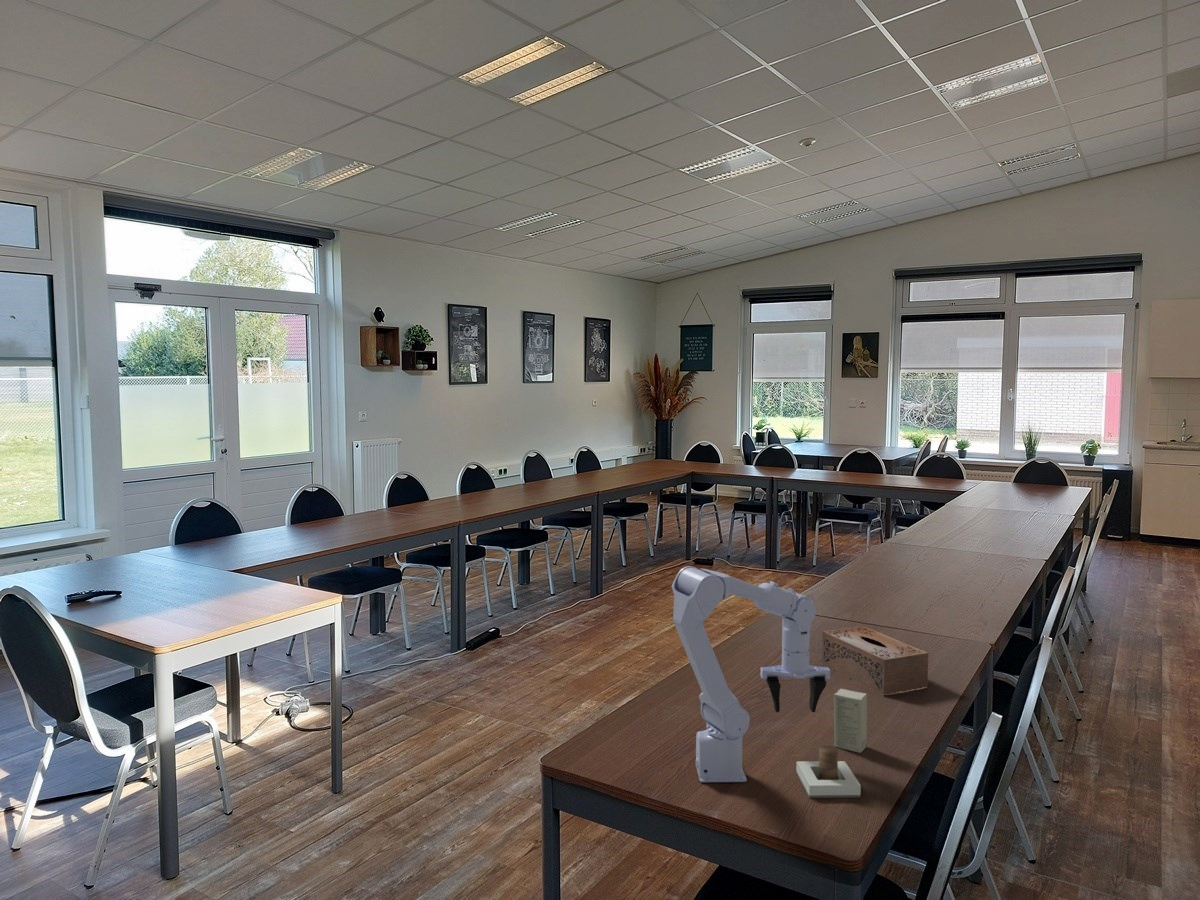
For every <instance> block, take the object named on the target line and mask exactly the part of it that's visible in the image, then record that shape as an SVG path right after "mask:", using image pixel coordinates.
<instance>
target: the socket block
mask: <svg viewBox="0 0 1200 900" xmlns="http://www.w3.org/2000/svg"><path fill="white" fill-rule="evenodd" d="M795 766H796V770H795V771H796V772H795V773H796V776H797V777H798V779H799V780H800V783H801V785H802V787H803V789H804V791H805V793H806V795H807V796H808V799H839V798H840V799H841V798H842V799H845V798H847V799H848V798H849V799H850V798H854V799H857V798H859V799H860V798H861V789H862V787H861V786H862V785H861V784H860V782H859V780H858V779H857V778H856V776H855V774H854V773H853V771H852V770H851V768H850V767H849V766H848V764H847V763H846V761H845V760H843V761H841V760H838V771H837V780H819V760H818V761H814V760H812V761H810V760H809V761H807V760H806V761H803V760H802V761H799V760H798V761H796V765H795Z"/></svg>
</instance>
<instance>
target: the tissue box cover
mask: <svg viewBox="0 0 1200 900" xmlns="http://www.w3.org/2000/svg"><path fill="white" fill-rule="evenodd" d="M821 634H822V635H821V636H822V637H821V639H822V640H821V648H822V649H821V665H822V664H823V665H822V666H824V665H825V666H824V667H826V666H827V667H829V669H830V668H831V669H833V670H835V671H836V672H835V671H834V672H835V673H837V672H839V673H841V674H843V675H845V676H847V677H849V678H851V679H852V680H855V681H857V682H859V683H861V684H863V685H865V686H867V687H869V688H871V689H873V690H875V691H877V692H879V693H881V694H883V695H885V694H891V693H896V692H899V691H906V690H911V689H917V688H922V687H927V688H928V681H929V680H928V678H929V677H928V676H929V672H928V671H929V652H927V651H925V650H923V649H920V648H917V647H915V646H913V645H911V644H908V643H905V642H904V641H901V640H899V639H896V638H893V637H891V636H889V635H886V634H884V633H882V632H880V631H877V630H874V629H872V628H870V627H867V626H865V625H860V626H859V625H858V626H854V627H852V626H851V627H846V628H845V627H844V628H838V629H829V630H823V631H822V633H821ZM831 669H830V670H831ZM833 670H832V671H833ZM839 673H838V674H839ZM841 674H840V675H841ZM843 675H842V676H843ZM845 676H844V677H845ZM847 677H846V678H847ZM849 678H848V679H849ZM851 679H850V680H851ZM852 680H851V681H852Z"/></svg>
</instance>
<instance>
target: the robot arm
mask: <svg viewBox="0 0 1200 900" xmlns="http://www.w3.org/2000/svg"><path fill="white" fill-rule="evenodd" d="M671 589H672V592H673V597H674V598H673V613H672V614H673V615H672V617H673V618H672V619H673V625H674V627H675V629H676V631H677V633H678V637H679V639H680V641H681V644H682V646H683V649H684V652H685V653H686V656H687V658H688V661H689V664H690V666H691V667H692V671H693V673H694V675H695V678H696V681H697V683H698V686H699V687H700V690H701V693H700V694H699V695H698V698H699V701H700V714H701V717H702V719H703V720H704V721H705V724H706V725H705V727H706V729H705V730H700V731H697V732H696V737H695V757H696V758H695V768H696V771H697V775H698V779H699V782H700V783H746V782H747V781H748V780H747V777H746V774H745V772H744V769H743V738H744V735H745V733H746V732H747V730H748V729H749V727H750V722H751V720H750V719H751V718H750V714H749V712H748V711H747V710H746V709H745V708H743V706H741V704H740V701H739V700H738V698H737V696H735V694H734V693H733V692H732V690H730V688H729V687H728V684H727V681H726V678H725V676H724V673H723V671H722V669H721V666H720V664H719V660H718V659H717V655H716V653H715V651H714V649H713V646H712V644H711V641H710V639H709V636H708V633H707V631H706V628H705V625H704V622H705V621H706V620H707V619H708V617H710V615H711V614H712V613H713V611H714V610H715V609H716V607H717V606H718V605H719V603H721V601H722V600H727V599H728V598H729V596H730V595H733V596H737V597H740V598H744V599H745V600H746V599H747V600H749V601H753V603H754V605H755V607H756V608H757V609H758V610H761V611H764V612H767V613H770V614H772V615H776V616H780V617H782V621H781V622H782V625H781V629H782V630H781V632H782V634H781V635H782V636H781V637H782V638H781V665H772V666H760V678H761V679H762V680H766V683H767V685H768V687H769V688H768V689H769V691H770V694H771V698H772V703H773V710H774V711H775V713H780V710H781V706H780V705H781V704H780V703H781V702H780V693H781V686H782V685H781V683H780V680H779V679H790V678H791V679H809V710H810V711H811V712H812V713H816V711H817V710H816V709H817V706H818V702H819V700H820V697H821V695H822V693H823V691H825V688H826V687H827V680H830V679H831V669H830V668H828V667H826V666H815V665H810V642H811V641H810V640H811V639H810V638H811V636H810V635H811V634H810V632H811V629H812V627H813V626H812V623H813V620H814V619H815V618H816V614H817V611H818V610H817V608H816V607H815V604H814V602H813V600H812V599H811V598H810V597H808V596H806V595H805V594H804V595H803V594H800V593H799V592H796V590H794V589H792V588H787V589H786V588H783V587H780V586H779V583H777V582H774V581H772V580H771V581H769V582H763V583H760V584H759V585H758V586H757V585H755V584H753V583H749V582H747V581H744V580H742V579H739V578H737V577H734V576H731V575H728V574H726V573H723V572H720V571H716V570H711V569H707V568H700V569H698V568H697V567H695V566H691V565H688V566H685V567H682V568H680V570H678V572H677V574H676V576H675V578H674V580H673V582H672V584H671Z"/></svg>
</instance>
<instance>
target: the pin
mask: <svg viewBox="0 0 1200 900" xmlns="http://www.w3.org/2000/svg"><path fill="white" fill-rule="evenodd" d="M838 753H839V750H838V749H837V747H835V746H831V745H822V746H820V747H819V749H818V761H819V780H837V771H838V761H839V757H838V756H839V754H838Z"/></svg>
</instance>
